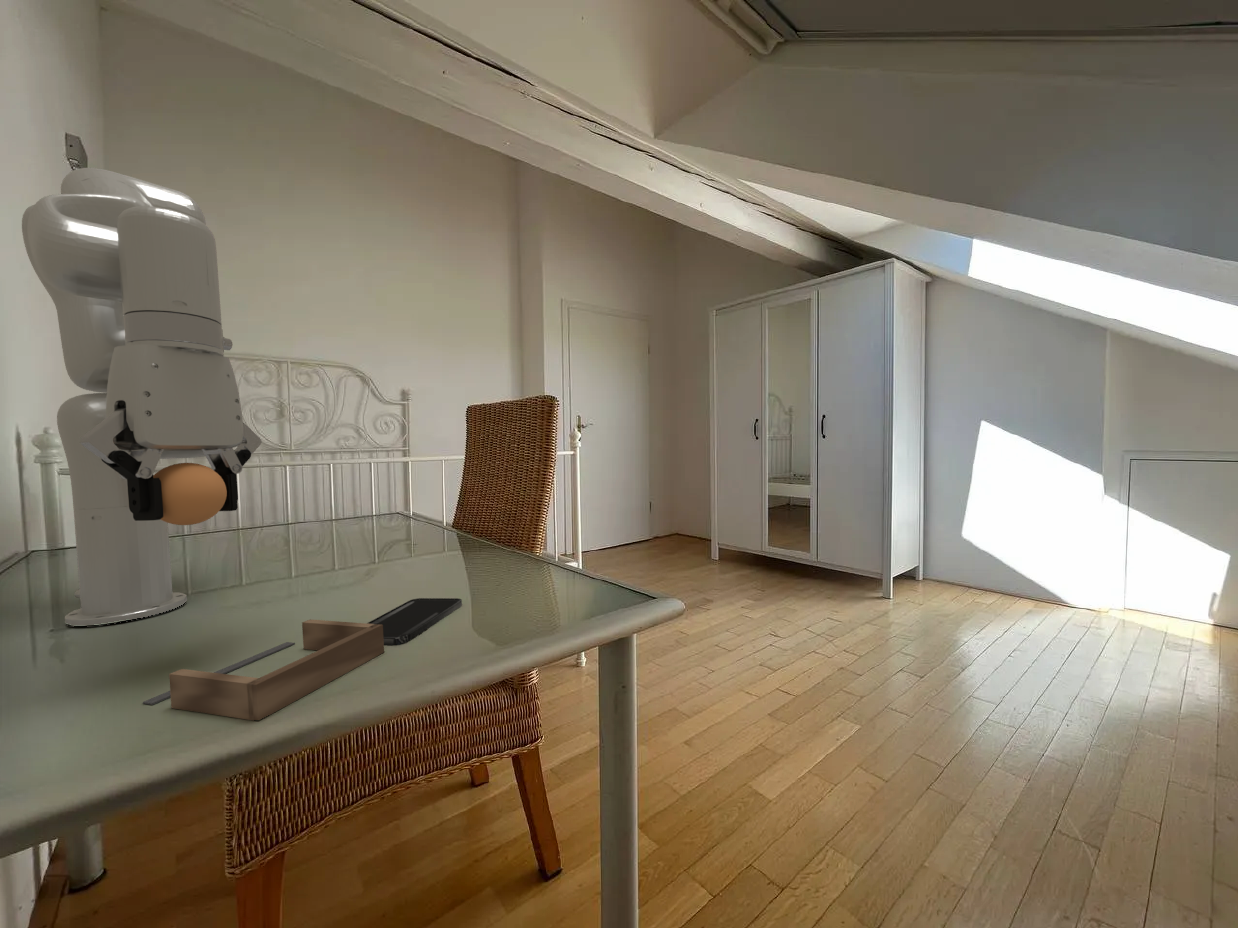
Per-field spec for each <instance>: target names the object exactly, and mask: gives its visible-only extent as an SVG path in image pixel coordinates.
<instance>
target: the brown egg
mask: <svg viewBox="0 0 1238 928" xmlns="http://www.w3.org/2000/svg"><path fill="white" fill-rule="evenodd" d="M153 478H159V479H160V480H161V487H162V501H163V518H161V520H163V521H165V522H167V523H168V524H171V525H176V526H177V525H178V526H191V525H192V526H194V525H198V524H200V523H203V522H206V521H208V520H210V519H211V518H213V517H214V516H215V515H216V514H218V513H219V512H221V511H220V509H221V508H222V507H223V505H224V503H225V500H226V496H227V490H226V486H225V483H224V481H223V479H222V478H221V476H220V475H219V474H218V473H216V472H215V471H214V470H213V469H212V467H211V468H210V467H208V466H206V465H204V464H200V463H195V462H180V463H175V464H171V465H168V466H165V467H164V468H161V469H160V470H159V471H157V472H155V473H154V474H153Z"/></svg>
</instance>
